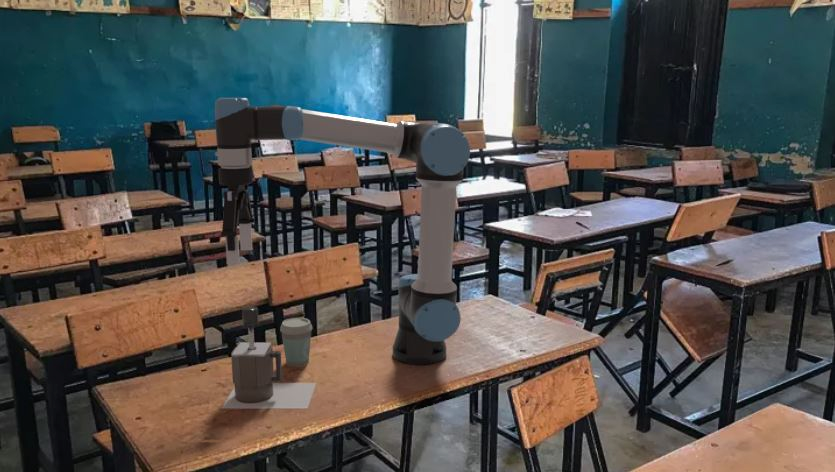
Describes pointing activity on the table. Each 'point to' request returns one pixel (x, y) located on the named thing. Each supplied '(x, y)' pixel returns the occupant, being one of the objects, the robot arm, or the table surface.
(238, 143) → the robot arm
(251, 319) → the plunger
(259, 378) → the grey french press
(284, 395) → the mat
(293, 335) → the coffee cup
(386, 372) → the table surface
